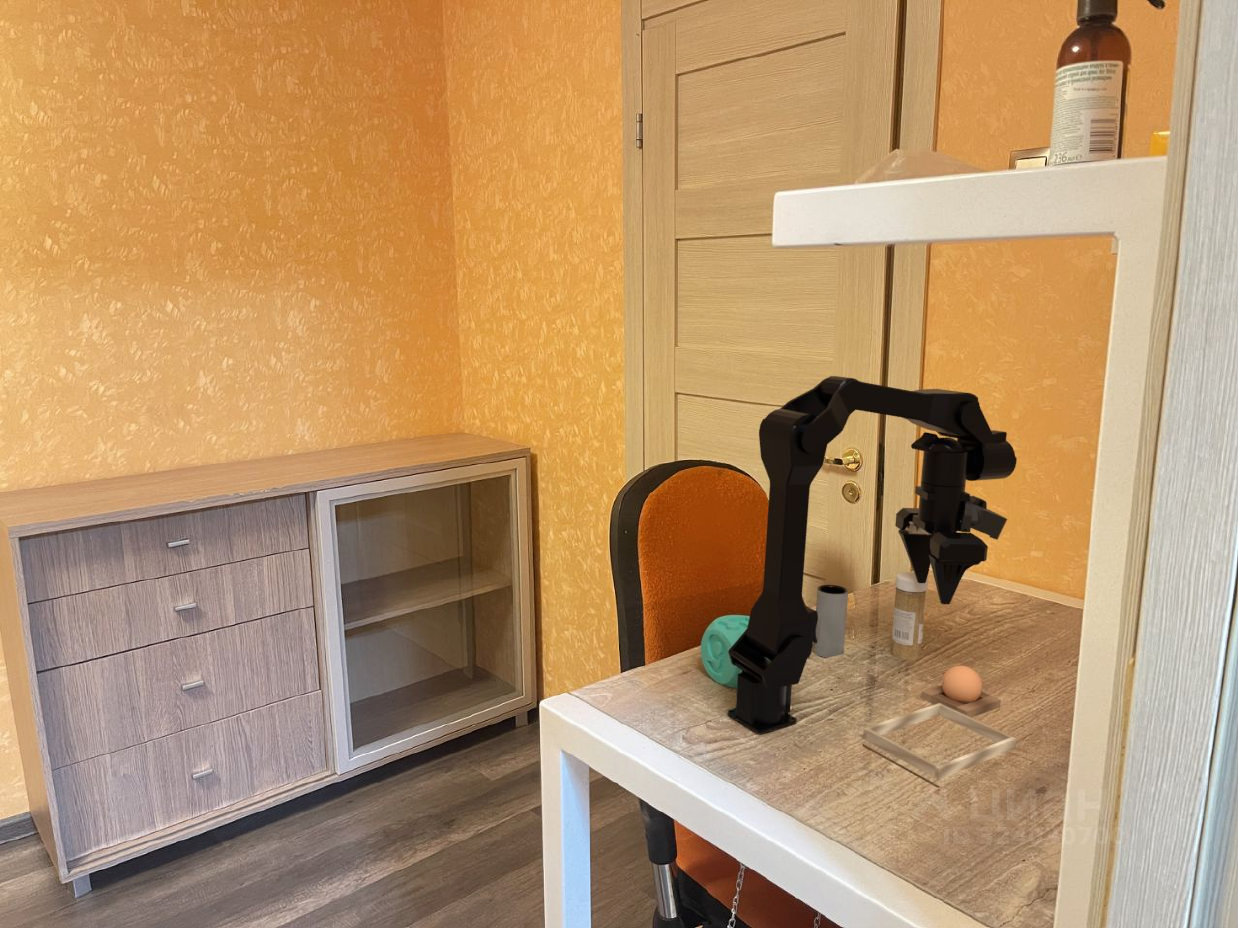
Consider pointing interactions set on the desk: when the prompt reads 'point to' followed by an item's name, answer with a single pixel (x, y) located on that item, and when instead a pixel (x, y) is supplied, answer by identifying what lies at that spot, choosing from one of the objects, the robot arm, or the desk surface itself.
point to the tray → (930, 768)
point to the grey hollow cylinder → (831, 620)
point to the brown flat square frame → (969, 709)
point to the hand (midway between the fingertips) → (932, 593)
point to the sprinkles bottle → (908, 617)
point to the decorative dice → (722, 648)
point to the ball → (962, 684)
